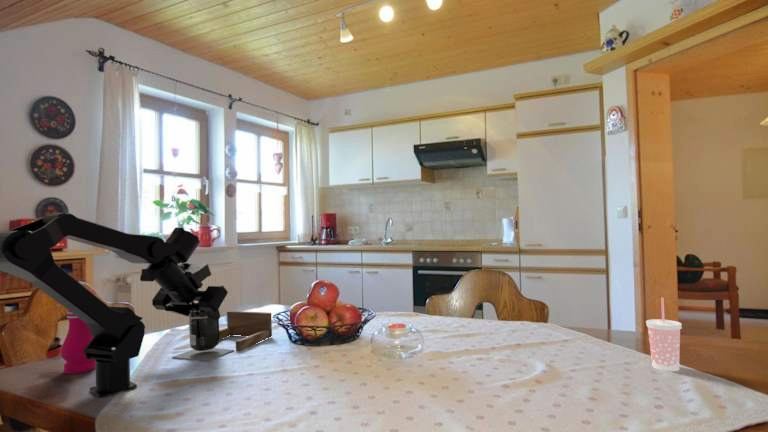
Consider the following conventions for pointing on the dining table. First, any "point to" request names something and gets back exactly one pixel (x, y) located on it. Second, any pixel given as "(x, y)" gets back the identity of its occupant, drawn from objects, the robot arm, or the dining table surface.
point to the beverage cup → (664, 342)
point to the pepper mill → (77, 345)
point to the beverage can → (202, 329)
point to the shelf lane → (247, 327)
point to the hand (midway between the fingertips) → (207, 317)
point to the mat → (203, 354)
